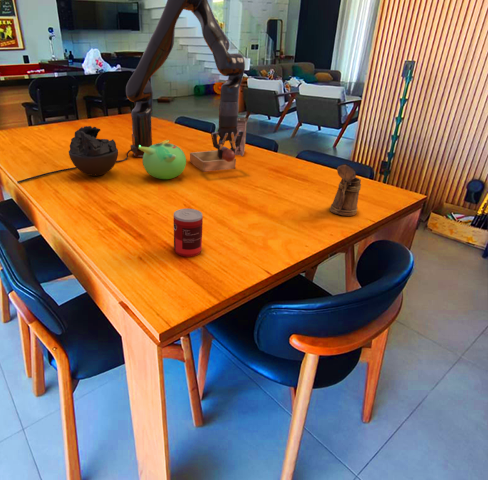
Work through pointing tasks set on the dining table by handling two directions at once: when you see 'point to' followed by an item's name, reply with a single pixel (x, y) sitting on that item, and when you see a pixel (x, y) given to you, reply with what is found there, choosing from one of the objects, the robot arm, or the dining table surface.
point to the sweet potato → (228, 154)
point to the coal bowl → (92, 152)
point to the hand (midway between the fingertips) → (225, 157)
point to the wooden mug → (346, 192)
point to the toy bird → (163, 160)
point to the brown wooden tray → (210, 161)
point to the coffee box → (242, 127)
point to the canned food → (188, 232)
